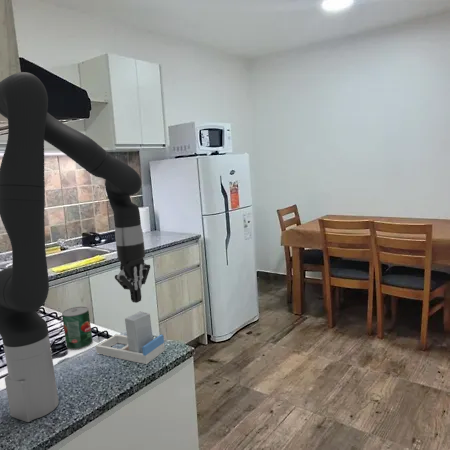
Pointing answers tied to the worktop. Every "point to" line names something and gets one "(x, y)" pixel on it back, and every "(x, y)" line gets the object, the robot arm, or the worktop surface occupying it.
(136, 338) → the skincare box
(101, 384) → the worktop surface
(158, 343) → the two-compartment tray
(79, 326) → the canned tomato
